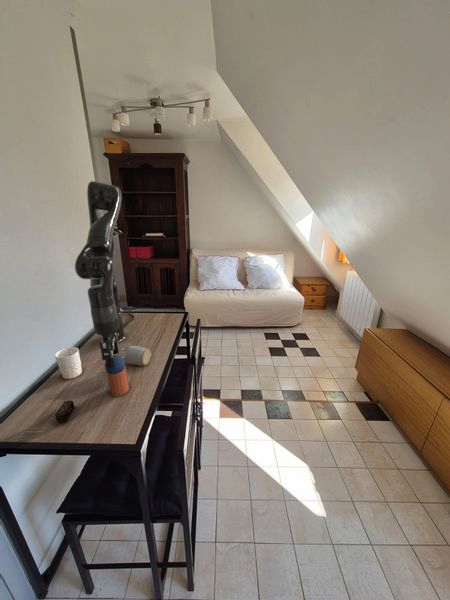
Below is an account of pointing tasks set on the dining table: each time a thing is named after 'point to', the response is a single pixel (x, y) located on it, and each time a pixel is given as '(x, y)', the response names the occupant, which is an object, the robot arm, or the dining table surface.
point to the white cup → (69, 362)
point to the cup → (118, 382)
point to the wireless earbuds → (65, 411)
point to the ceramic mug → (137, 355)
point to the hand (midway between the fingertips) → (113, 359)
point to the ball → (116, 365)
